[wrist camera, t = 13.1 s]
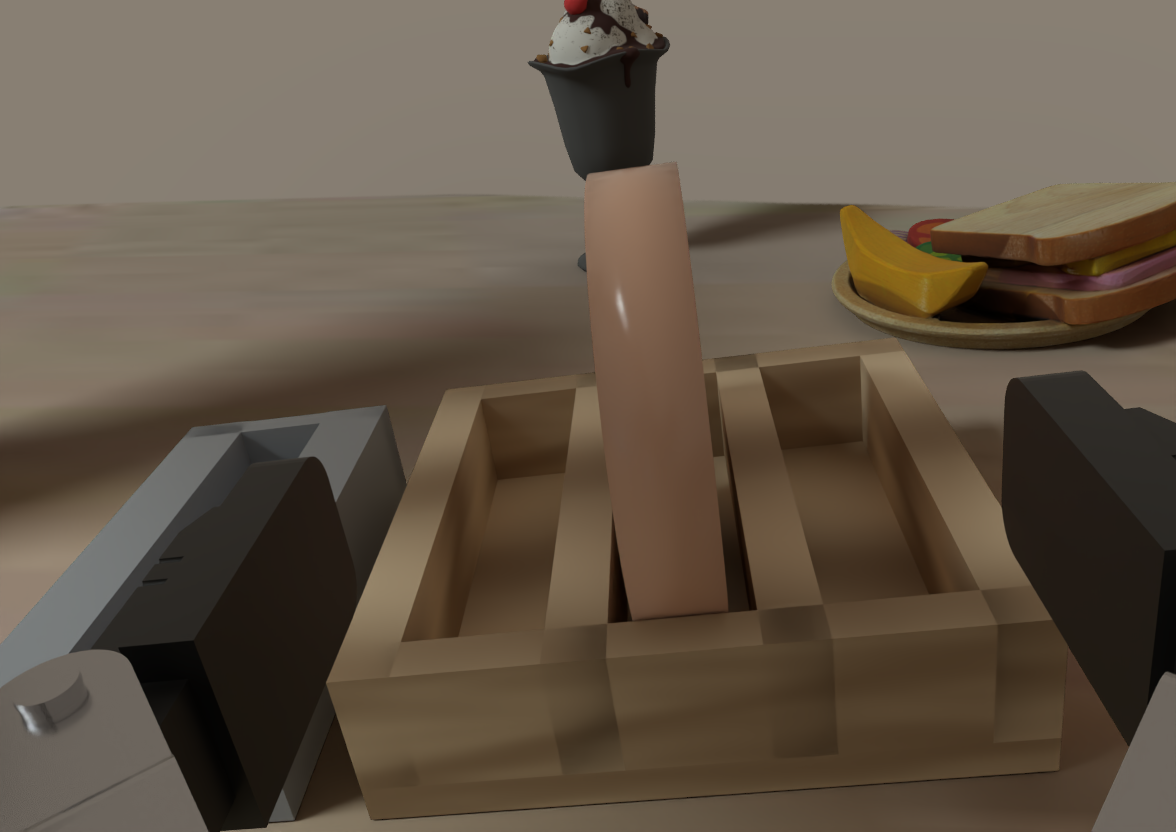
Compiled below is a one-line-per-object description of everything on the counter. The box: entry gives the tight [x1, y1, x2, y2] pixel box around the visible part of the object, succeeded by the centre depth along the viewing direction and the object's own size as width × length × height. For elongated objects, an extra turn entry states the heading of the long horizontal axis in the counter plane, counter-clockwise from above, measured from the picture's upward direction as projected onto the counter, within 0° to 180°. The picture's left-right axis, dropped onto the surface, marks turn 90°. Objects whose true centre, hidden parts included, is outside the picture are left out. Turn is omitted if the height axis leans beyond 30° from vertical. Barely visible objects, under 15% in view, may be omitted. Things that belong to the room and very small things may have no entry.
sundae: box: [528, 0, 670, 271], centre depth 48 cm, size 7×7×15 cm
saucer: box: [584, 162, 729, 621], centre depth 22 cm, size 10×2×10 cm
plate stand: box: [0, 405, 407, 822], centre depth 25 cm, size 12×6×4 cm, turn 177°
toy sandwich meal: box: [832, 182, 1176, 349], centre depth 39 cm, size 12×14×5 cm
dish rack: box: [326, 337, 1068, 820], centre depth 25 cm, size 13×13×4 cm
